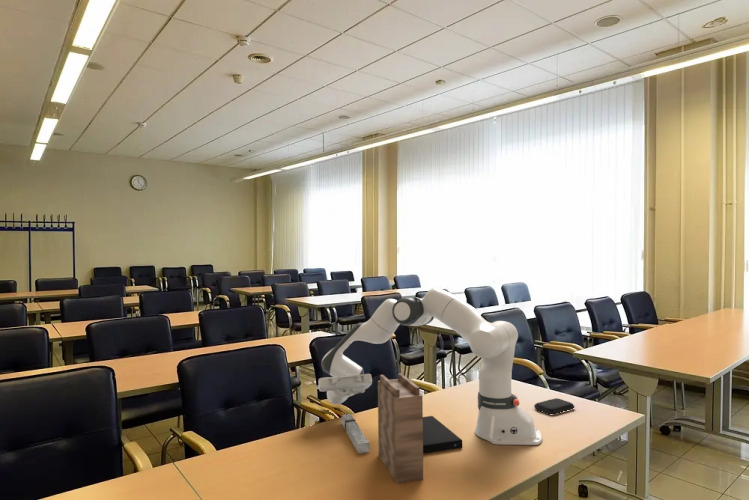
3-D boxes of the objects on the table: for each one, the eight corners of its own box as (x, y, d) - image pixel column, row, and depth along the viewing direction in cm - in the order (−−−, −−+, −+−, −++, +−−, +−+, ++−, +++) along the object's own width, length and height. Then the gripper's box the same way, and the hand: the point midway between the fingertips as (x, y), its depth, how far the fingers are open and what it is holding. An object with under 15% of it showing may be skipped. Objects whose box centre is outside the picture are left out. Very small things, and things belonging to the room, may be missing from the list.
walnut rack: (378, 456, 149) (377, 374, 149) (402, 452, 151) (401, 372, 151) (396, 483, 132) (395, 391, 132) (423, 479, 134) (422, 388, 134)
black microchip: (554, 402, 198) (530, 409, 191) (554, 395, 198) (529, 401, 191) (576, 410, 189) (551, 417, 182) (576, 403, 189) (551, 409, 182)
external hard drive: (432, 423, 177) (432, 415, 177) (462, 448, 155) (462, 439, 155) (397, 428, 173) (397, 420, 173) (422, 455, 150) (422, 445, 150)
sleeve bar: (341, 424, 176) (341, 414, 176) (351, 423, 177) (351, 413, 177) (358, 455, 151) (357, 443, 151) (369, 453, 152) (369, 441, 152)
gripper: (314, 380, 182) (319, 370, 170) (365, 376, 188) (373, 366, 176) (316, 397, 179) (321, 388, 167) (368, 392, 185) (376, 383, 173)
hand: (348, 376), depth 172 cm, fingers open, 6 cm apart
